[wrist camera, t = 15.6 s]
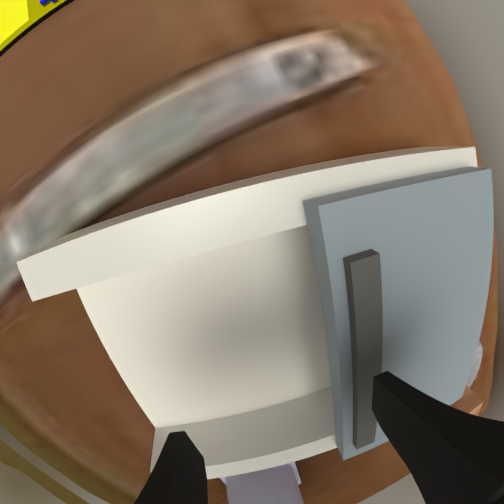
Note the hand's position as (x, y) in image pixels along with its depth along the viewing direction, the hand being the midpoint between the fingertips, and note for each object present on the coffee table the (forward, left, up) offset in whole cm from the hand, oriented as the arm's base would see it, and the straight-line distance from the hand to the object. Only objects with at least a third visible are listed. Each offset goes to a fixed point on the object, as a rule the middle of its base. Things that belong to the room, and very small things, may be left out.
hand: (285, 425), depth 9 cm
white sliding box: (-1, -2, -9) cm, 10 cm away
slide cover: (-1, -8, -4) cm, 9 cm away
